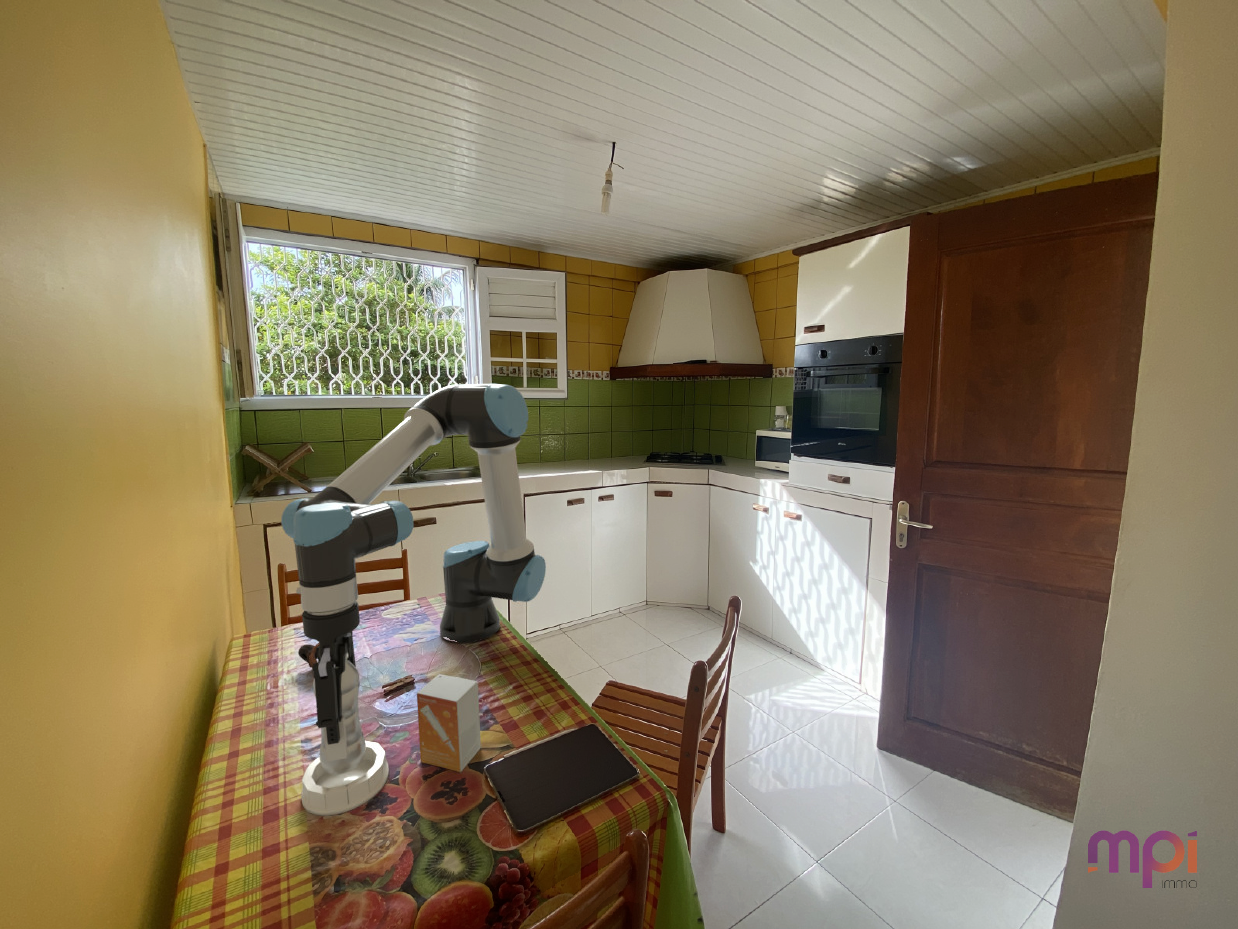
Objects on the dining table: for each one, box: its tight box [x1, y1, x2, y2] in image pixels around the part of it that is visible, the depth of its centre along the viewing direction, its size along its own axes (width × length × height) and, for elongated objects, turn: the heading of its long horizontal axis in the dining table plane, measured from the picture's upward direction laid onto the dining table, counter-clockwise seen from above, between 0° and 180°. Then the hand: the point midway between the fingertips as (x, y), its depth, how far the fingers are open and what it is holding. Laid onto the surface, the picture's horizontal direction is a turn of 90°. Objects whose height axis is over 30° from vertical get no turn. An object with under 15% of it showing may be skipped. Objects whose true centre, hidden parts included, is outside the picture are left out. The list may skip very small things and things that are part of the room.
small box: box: [416, 673, 482, 773], centre depth 87 cm, size 8×6×13 cm
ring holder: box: [300, 740, 390, 817], centre depth 82 cm, size 12×12×3 cm
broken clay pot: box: [297, 642, 320, 678], centre depth 115 cm, size 12×10×8 cm
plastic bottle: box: [312, 652, 366, 774], centre depth 80 cm, size 6×7×20 cm
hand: (342, 743), depth 81 cm, fingers closed on plastic bottle, 6 cm apart
